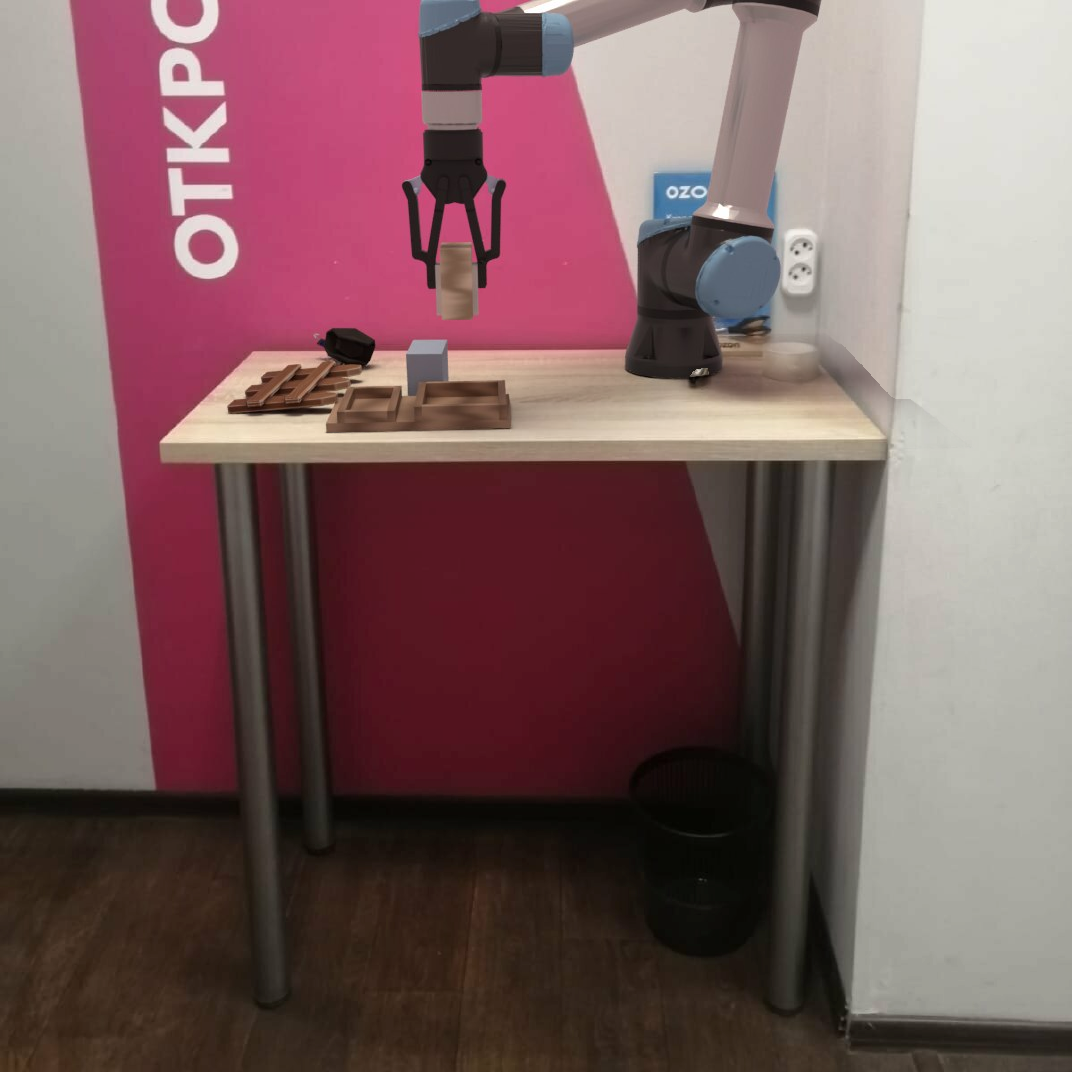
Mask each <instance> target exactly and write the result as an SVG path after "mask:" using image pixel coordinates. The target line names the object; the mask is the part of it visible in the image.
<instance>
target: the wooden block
mask: <svg viewBox="0 0 1072 1072" xmlns="http://www.w3.org/2000/svg"><path fill="white" fill-rule="evenodd" d="M472 245H473V241H469V242H468V241H467V242H465V241H464V242H462V241H461V242H460V241H459V242H458V241H457V242H455V241H454V242H441V243H440V246H439V262H440V274H441V305H442V316H441V320H442V321H473V320H474V315H473V293H472V262H473V246H472Z"/></svg>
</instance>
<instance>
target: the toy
mask: <svg viewBox="0 0 1072 1072" xmlns="http://www.w3.org/2000/svg"><path fill="white" fill-rule="evenodd" d="M325 332H326V333H325V338H319V337H317V336H320V333H314V334H313V337H314V338H315V339H316V340H318V341H317V342H316V344H317V346H320V347H322V348H323V349H324V351H325V352H326V354H327V356H328V357H330V358H332V359H334V360H335V361H337V362H339V365H338V366H340V365H361V367H367V365H368V364H369V362H371V359H372V358H373V354H374V352H375V349H376V340H375V339H373V337H371V336H369V335H367V334H365V333H364V332H362V331H361V330H359V329H357V328H355V327H332V328H330V329H328V330H327V331H325Z"/></svg>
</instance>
